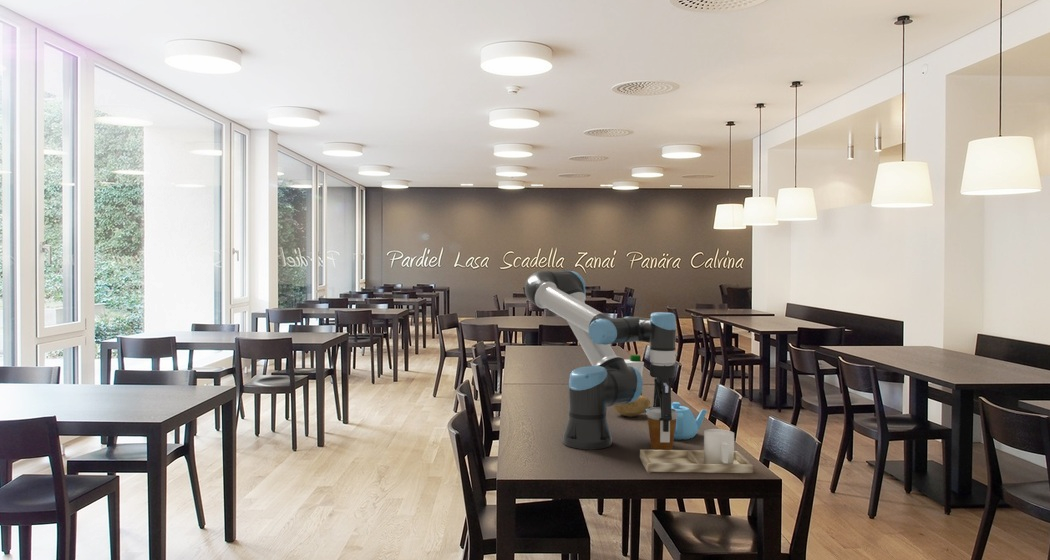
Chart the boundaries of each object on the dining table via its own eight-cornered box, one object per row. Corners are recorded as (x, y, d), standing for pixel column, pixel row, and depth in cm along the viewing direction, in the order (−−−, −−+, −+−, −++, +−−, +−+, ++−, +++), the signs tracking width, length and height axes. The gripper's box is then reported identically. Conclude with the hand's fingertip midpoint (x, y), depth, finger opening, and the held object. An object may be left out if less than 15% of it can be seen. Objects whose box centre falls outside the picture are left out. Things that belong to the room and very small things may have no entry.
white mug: (710, 472, 179) (711, 438, 178) (700, 460, 189) (701, 428, 189) (740, 472, 178) (741, 439, 178) (729, 460, 189) (729, 429, 189)
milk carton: (645, 407, 261) (646, 356, 261) (624, 409, 259) (625, 357, 258) (635, 403, 270) (635, 353, 269) (614, 404, 267) (615, 354, 266)
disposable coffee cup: (673, 445, 207) (673, 406, 207) (681, 453, 197) (681, 413, 197) (642, 445, 207) (643, 406, 206) (649, 453, 197) (649, 413, 197)
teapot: (642, 434, 220) (642, 401, 220) (669, 427, 231) (669, 396, 230) (681, 443, 209) (681, 409, 209) (708, 435, 219) (708, 403, 219)
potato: (652, 418, 242) (652, 397, 242) (614, 418, 242) (614, 396, 242) (646, 413, 252) (647, 391, 252) (609, 412, 252) (610, 391, 252)
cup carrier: (647, 473, 179) (647, 464, 179) (639, 458, 193) (639, 449, 193) (753, 474, 178) (753, 465, 178) (737, 459, 192) (737, 450, 192)
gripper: (683, 369, 190) (682, 447, 191) (668, 358, 213) (667, 428, 213) (656, 369, 191) (655, 447, 191) (644, 358, 213) (643, 428, 213)
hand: (661, 437), depth 202 cm, fingers closed on disposable coffee cup, 9 cm apart
